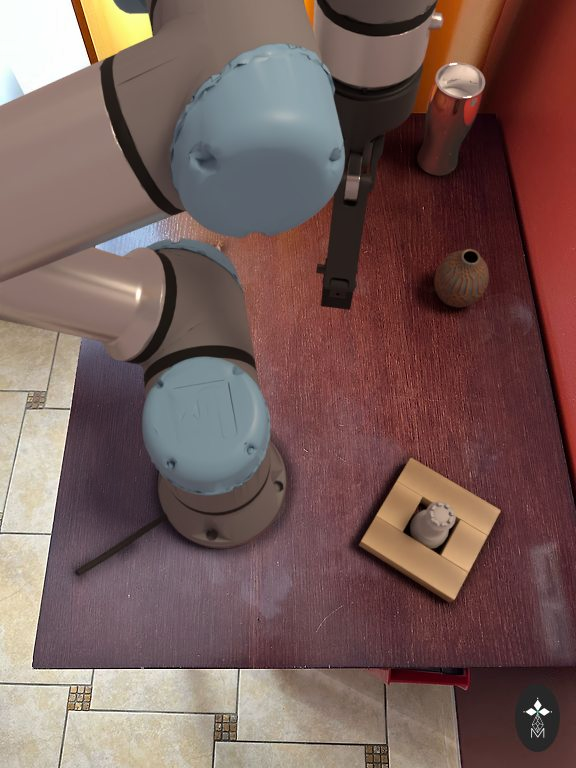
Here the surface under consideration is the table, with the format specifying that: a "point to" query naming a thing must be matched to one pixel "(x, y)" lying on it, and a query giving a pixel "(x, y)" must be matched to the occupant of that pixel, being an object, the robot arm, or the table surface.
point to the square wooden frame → (412, 556)
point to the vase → (461, 278)
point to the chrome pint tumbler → (450, 116)
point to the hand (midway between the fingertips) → (343, 243)
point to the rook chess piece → (433, 524)
